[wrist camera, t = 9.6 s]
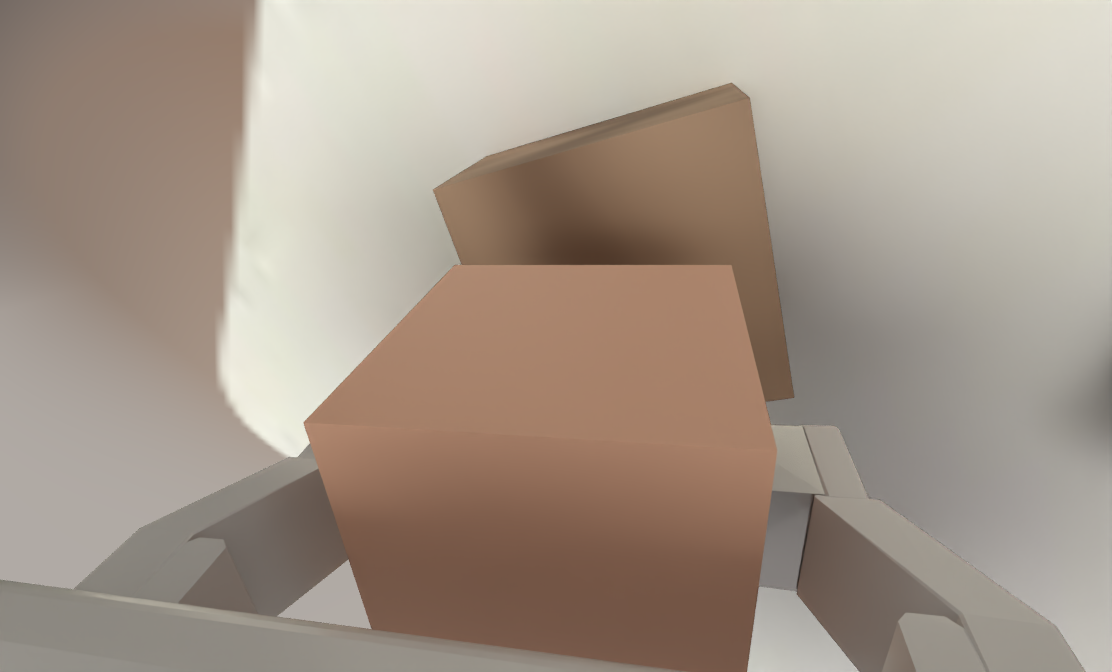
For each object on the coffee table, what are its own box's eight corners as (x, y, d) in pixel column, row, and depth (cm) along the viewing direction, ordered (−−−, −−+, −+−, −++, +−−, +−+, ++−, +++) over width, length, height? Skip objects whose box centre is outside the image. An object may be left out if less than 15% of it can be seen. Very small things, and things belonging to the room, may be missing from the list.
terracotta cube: (714, 488, 12) (736, 746, 8) (487, 472, 13) (392, 692, 9) (731, 264, 10) (777, 451, 5) (454, 264, 11) (302, 423, 6)
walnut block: (731, 82, 17) (749, 98, 13) (768, 319, 20) (794, 397, 16) (488, 155, 19) (432, 189, 15) (556, 357, 22) (527, 434, 18)
